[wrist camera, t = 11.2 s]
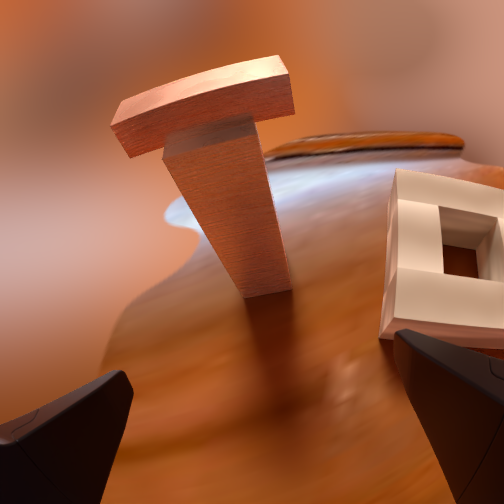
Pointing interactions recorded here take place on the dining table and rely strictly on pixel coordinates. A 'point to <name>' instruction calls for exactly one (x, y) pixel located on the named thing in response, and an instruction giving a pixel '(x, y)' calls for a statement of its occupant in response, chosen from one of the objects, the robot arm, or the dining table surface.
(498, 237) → the slot block
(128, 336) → the dining table surface
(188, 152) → the t key
